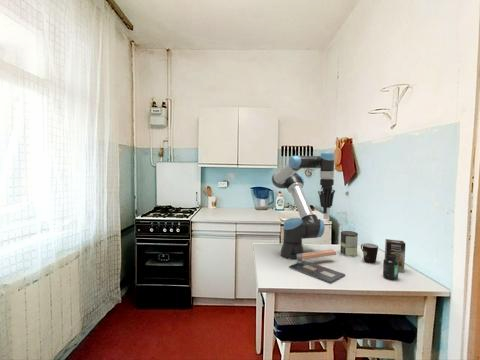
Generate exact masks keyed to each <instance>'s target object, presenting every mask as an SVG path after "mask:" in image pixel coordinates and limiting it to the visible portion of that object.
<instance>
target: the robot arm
mask: <svg viewBox="0 0 480 360" xmlns="http://www.w3.org/2000/svg"><path fill="white" fill-rule="evenodd" d="M301 169H320V171H319V174H320V175H319V177H320V182H319V185H320V186H321V188H320V190H318V191H317V194H318V196H319V197H318V198H319V203H320V207H321V208H322V209H323V211H322V214H323V219H325V220H329V219H330V208H332V207H333V201H334V196H335V193H336V190H335V189H333V186H334V182H335V179H334V177H335V176H334V173H335V153H334V152H332V151H323V152H320V155H292V156H290V157H289V159H288V163H287V164H286V165H284V166H283V167H282V168H281V169H280V170H279V171H276V172H274V173H273V175H272V176H271V182H272V185H274V187H276V188H278V189H287V191H288V193H289V194H291V196H292V199H293V202H294V204H295V206H296V209H297V212H298V214H299V217H292V218H287V219H285V220H284V222H283V227H282V228H283V243H282V245H281V249H280V256H281V255H282V256H284V257H286V258H285V259H288V258H290V259H289V260H297V254H301V253H306V252H305V250H304V246H303V239H317V238H321V237H323V235H324V233H325V228H326V227H325V222H324V220H323V219H320V218H318V217H317V215H316V214H315V213H313V210H312V208H311V206H310V203H309V201H308V199H307V197H306V195H305V192H304V189H303V188H304V185H305V178H304V176H303V175H302V173H300V172H299V171H300V170H301ZM282 256H281V257H282ZM284 257H283V258H284Z"/></svg>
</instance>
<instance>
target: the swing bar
mask: <svg viewBox="0 0 480 360" xmlns="http://www.w3.org/2000/svg"><path fill="white" fill-rule="evenodd" d="M336 255H337V251H335V250H333V249H331V248H330V249H325V250H318V251H317V250H315V251H310V252H305V253H301V254H297V259H296V261H297V260H302V261H306V260H309V259H317V258H325V257H331V256H332V257H333V256H336Z"/></svg>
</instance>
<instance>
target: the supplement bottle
mask: <svg viewBox="0 0 480 360" xmlns="http://www.w3.org/2000/svg"><path fill="white" fill-rule="evenodd" d="M382 264H383V265H382V276H383V278H384V279H386V280H389V281H397V280H398V279H399V272H398V268H399V263H398V261H397V256H396V255H395V254H386V259H385V258H384V259H383V263H382Z"/></svg>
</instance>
